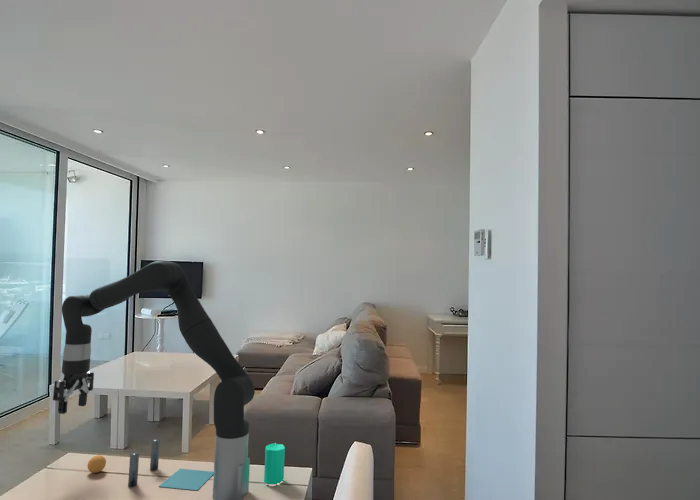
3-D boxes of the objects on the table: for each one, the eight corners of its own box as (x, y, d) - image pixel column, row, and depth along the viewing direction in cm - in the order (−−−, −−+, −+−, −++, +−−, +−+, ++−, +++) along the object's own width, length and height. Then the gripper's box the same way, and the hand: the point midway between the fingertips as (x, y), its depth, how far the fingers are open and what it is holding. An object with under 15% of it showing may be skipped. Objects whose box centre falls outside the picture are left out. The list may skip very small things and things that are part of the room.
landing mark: (215, 472, 136) (215, 471, 136) (197, 490, 124) (197, 490, 124) (180, 469, 138) (180, 468, 138) (158, 486, 126) (158, 486, 126)
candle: (279, 487, 128) (281, 446, 129) (260, 485, 129) (262, 444, 130) (286, 478, 134) (288, 439, 134) (268, 476, 135) (270, 437, 136)
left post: (138, 483, 128) (140, 452, 128) (133, 487, 125) (135, 455, 126) (131, 482, 128) (133, 451, 129) (126, 486, 126) (128, 455, 126)
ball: (109, 469, 136) (110, 453, 137) (97, 476, 131) (99, 459, 132) (94, 468, 137) (95, 451, 137) (83, 475, 132) (84, 458, 132)
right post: (159, 467, 138) (161, 439, 139) (155, 471, 136) (157, 442, 137) (152, 467, 139) (154, 438, 139) (148, 470, 136) (150, 441, 137)
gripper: (70, 362, 130) (65, 417, 129) (103, 354, 144) (99, 404, 143) (48, 360, 131) (43, 415, 130) (82, 353, 145) (78, 402, 144)
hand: (72, 409), depth 136 cm, fingers open, 7 cm apart
